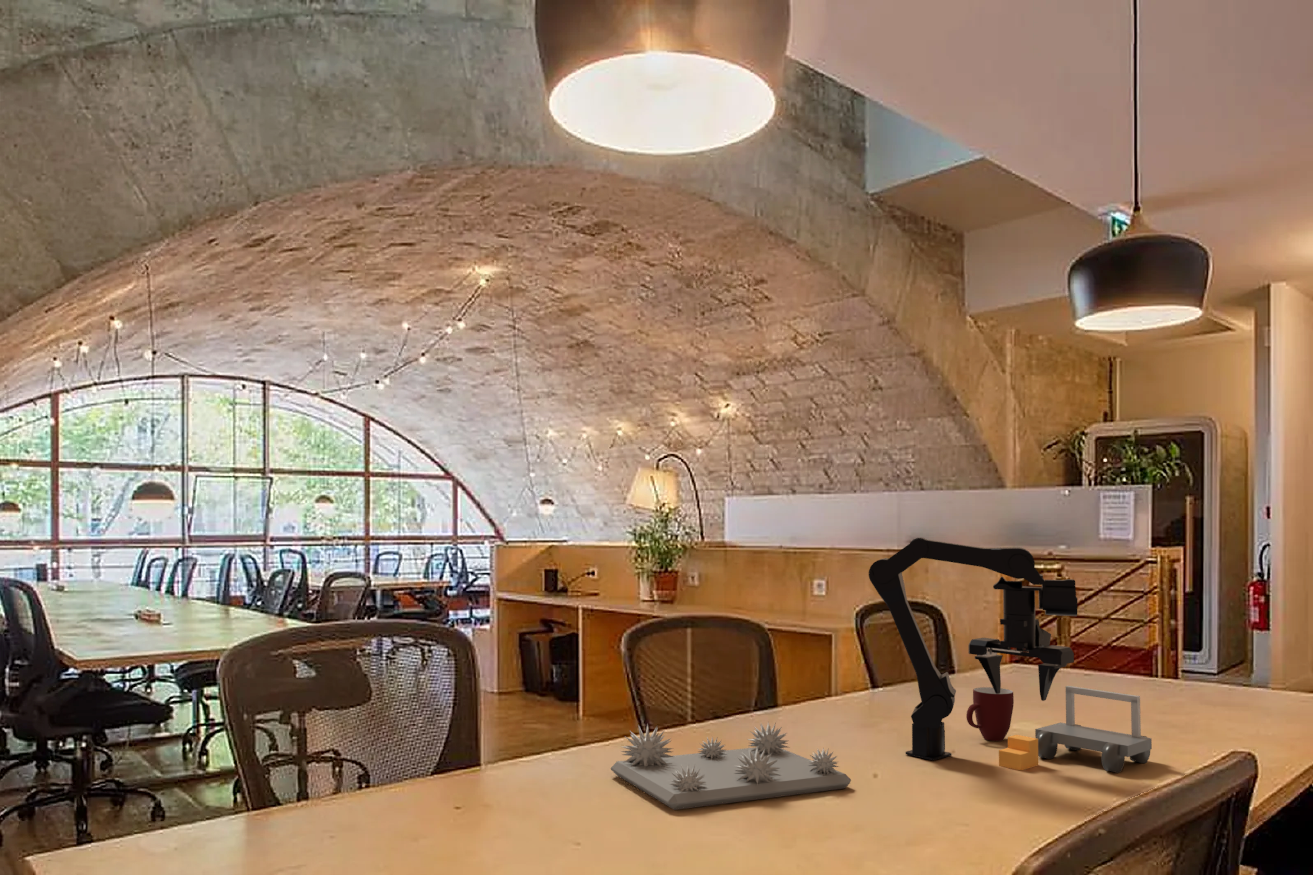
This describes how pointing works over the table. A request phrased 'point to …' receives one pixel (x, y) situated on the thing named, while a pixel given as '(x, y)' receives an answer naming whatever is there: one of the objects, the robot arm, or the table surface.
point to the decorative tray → (725, 771)
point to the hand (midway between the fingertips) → (1020, 697)
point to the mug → (991, 712)
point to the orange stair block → (1019, 753)
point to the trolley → (1096, 733)
